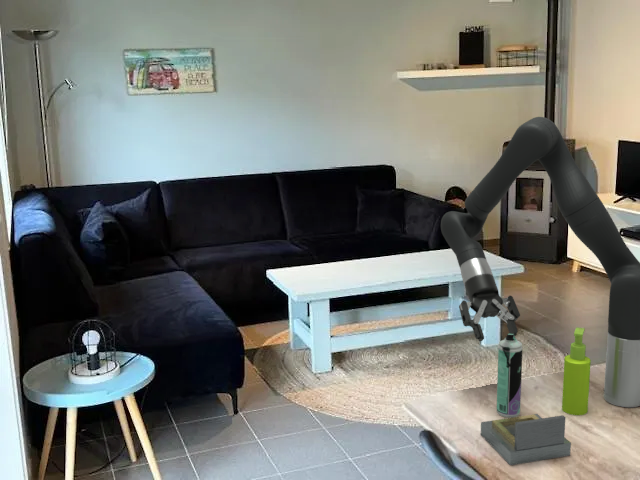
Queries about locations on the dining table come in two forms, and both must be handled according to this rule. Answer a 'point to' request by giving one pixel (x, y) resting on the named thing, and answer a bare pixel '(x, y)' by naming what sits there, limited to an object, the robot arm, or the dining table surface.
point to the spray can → (509, 376)
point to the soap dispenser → (576, 377)
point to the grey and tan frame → (527, 438)
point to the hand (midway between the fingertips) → (498, 338)
